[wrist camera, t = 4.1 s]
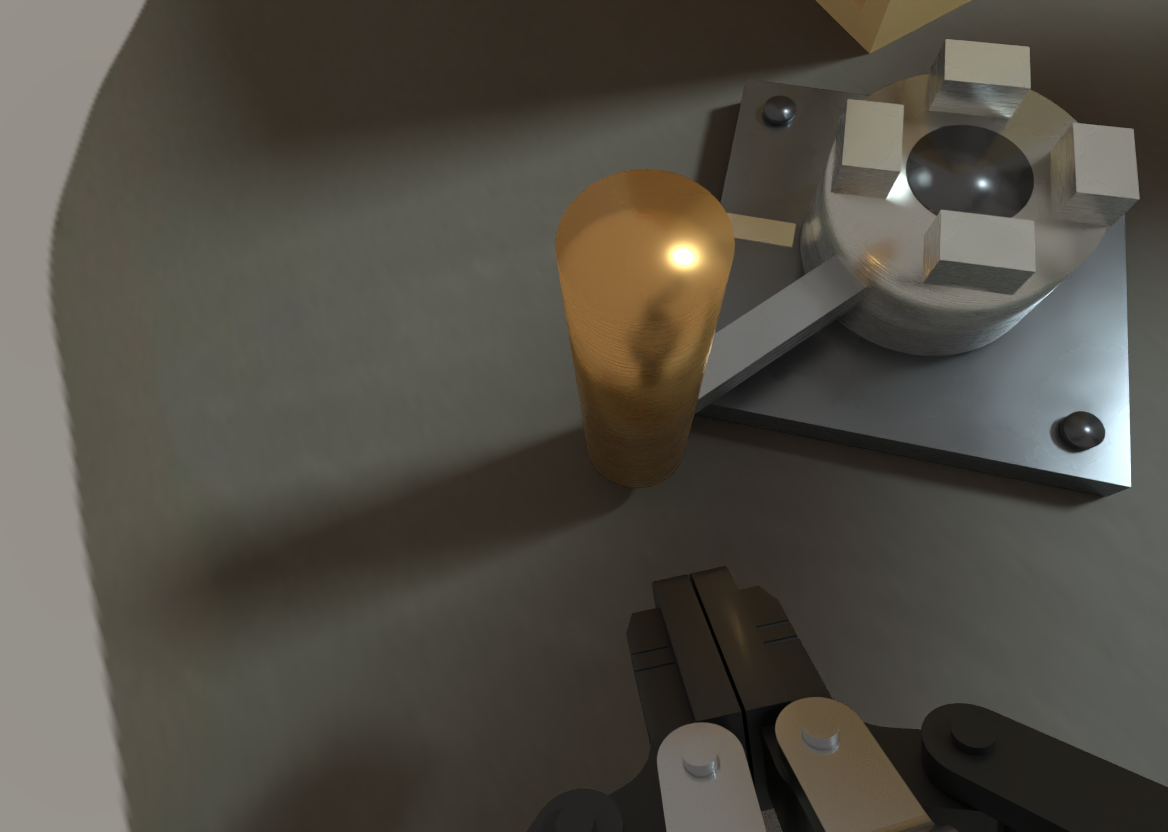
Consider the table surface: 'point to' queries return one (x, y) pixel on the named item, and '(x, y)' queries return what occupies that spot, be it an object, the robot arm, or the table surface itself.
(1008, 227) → the crank handle
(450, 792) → the table surface
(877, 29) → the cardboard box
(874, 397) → the hub plate
